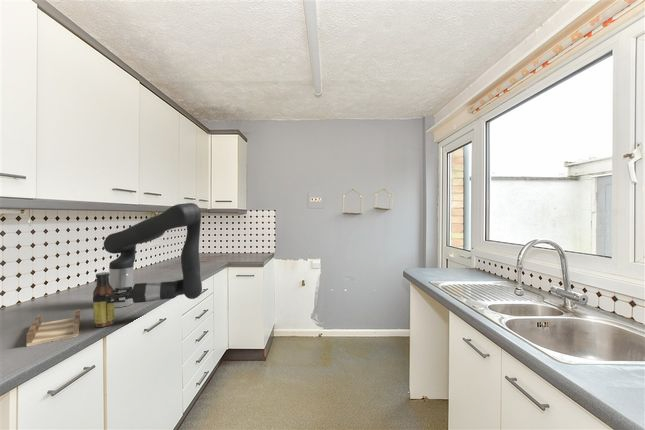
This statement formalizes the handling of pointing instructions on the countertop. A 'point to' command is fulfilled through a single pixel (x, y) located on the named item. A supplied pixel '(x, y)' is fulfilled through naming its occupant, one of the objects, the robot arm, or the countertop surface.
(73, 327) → the track
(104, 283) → the sauce bottle
